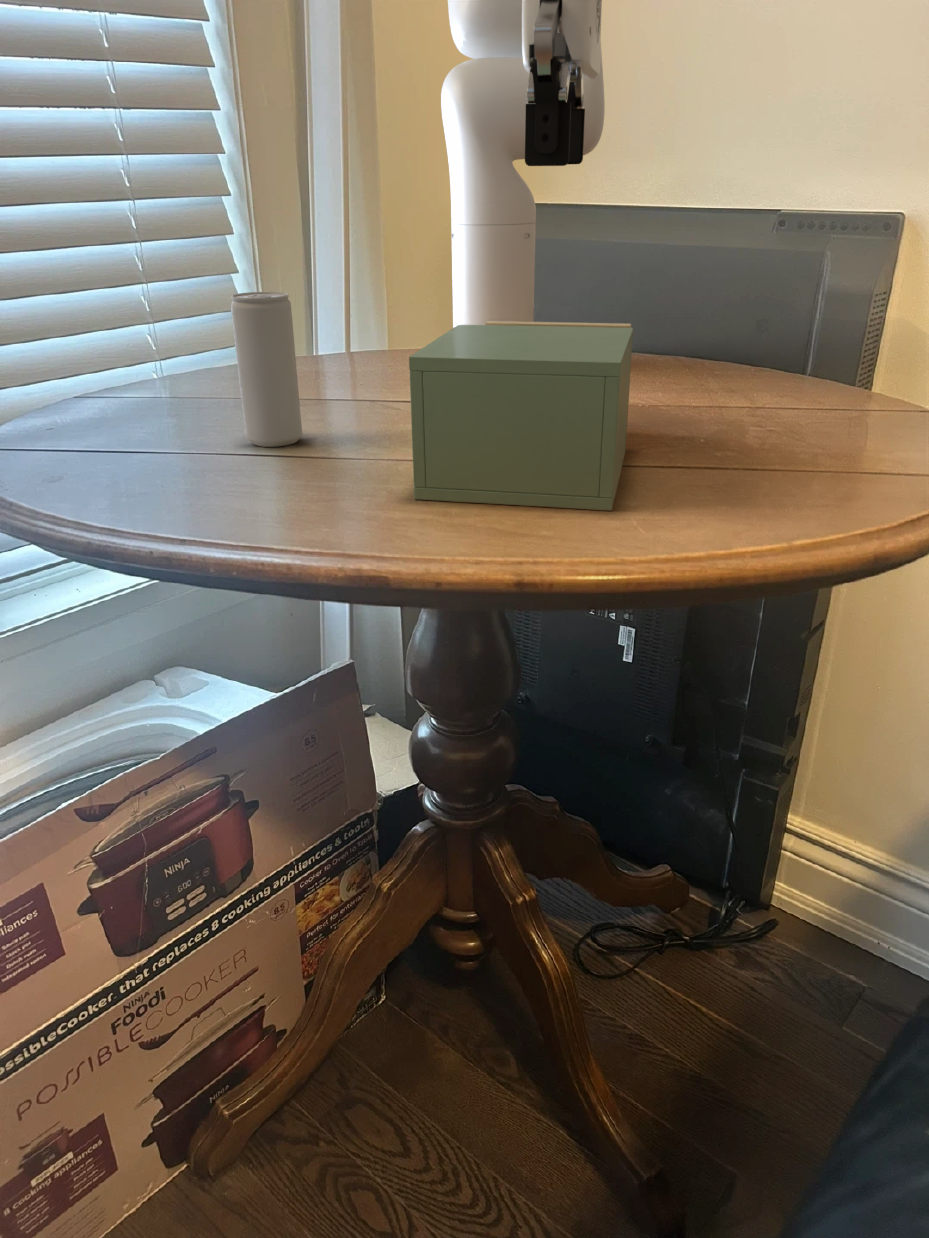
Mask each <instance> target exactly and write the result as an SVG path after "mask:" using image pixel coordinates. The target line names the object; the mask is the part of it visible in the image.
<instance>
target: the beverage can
mask: <svg viewBox="0 0 929 1238" xmlns="http://www.w3.org/2000/svg"><path fill="white" fill-rule="evenodd" d="M231 300H232V301H231V303H230V311H231V320H232V329H233V336H234V346H235V356H236V363H237V364H236V365H237V374H238V381H239V389H240V398H241V399H240V400H241V406H242V414H243V424H244V431H245V432H244V433H245V438H246V439H247V440H248V441H249V442H250V443H251V444H252V445H255V446H257V447H264V448H276V447H284V446H290V445H293V444H295V443H297V442H298V441H299V440H300V438H301V437H302V435H303V428H302V416H301V403H300V392H299V382H298V381H299V380H298V368H297V358H296V357H297V356H296V348H295V335H294V323H293V313H292V311H293V310H292V303H291V301H290V300H289V293H288V292H284V291H283V292H282V291H250V292H241V293H235V294H232V295H231Z"/></svg>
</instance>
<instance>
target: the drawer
mask: <svg viewBox="0 0 929 1238" xmlns="http://www.w3.org/2000/svg"><path fill="white" fill-rule="evenodd" d="M485 325H504V326H555V327H606V328H632V323H619V322H618V323H617V322H616V323H615V322H614V323H613V322H611V323H610V322H569V321H568V322H566V321H565V322H562V321H561V322H560V321H559V322H557V321H534V322H514V321H488V322H486V323H485Z"/></svg>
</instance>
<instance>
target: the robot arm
mask: <svg viewBox="0 0 929 1238" xmlns="http://www.w3.org/2000/svg"><path fill="white" fill-rule="evenodd" d="M602 3H603V0H447V12H448V21H449V28H450V33H451V36H452V37H451V38H452V40H453V43H454V45H455V47H456V49H457V50H458V52H459V53H460V54H462V55H463V56H465V57H467V58H470V59H467V60H465V61H463V62H460V63H458V64H456V65H455V66H454V67H453V68H451V69H450V71H449V72H447V75H446V76H445V78H444V80H443V83H442V86H441V91H440V110H441V118H442V125H443V132H444V140H445V146H446V152H447V153H446V154H447V161H448V172H449V186H450V189H449V190H450V215H451V216H450V221H451V222H450V223H451V227H450V228H451V280H452V281H451V282H452V284H451V286H452V329H453V328H454V327H456V326H457V325H485V323H486V322H488V321H514V322H535V318H534V317H535V280H536V279H535V275H536V274H535V273H536V229H537V226H536V224H537V222H536V221H537V209H536V208H537V207H536V201H535V197H534V195H533V193H532V191H531V189H530V187H529V185H528V184H527V183H526V181H525V180H524V179H523V178H522V176H521V175H520V174H519V172H518V170H517V169H516V168H515V166H514V164H513V162H514V161H519V160H524V163H525V165H526V166H528V167H564V166H566V165H580V164H581V163H583V160H584V156H585V155H589V154H590V153H591V152H592V151H594V149H595V148H596V147H597V146H598V144H599V143H600V140H601V138H602V135H603V130H604V125H605V124H604V123H605V113H606V111H605V107H606V106H605V103H606V102H605V85H604V70H603V69H604V68H603V57H602V54H603V53H602V40H601V39H602V38H601V37H602V35H601V34H602V10H603V9H602V6H603V5H602Z"/></svg>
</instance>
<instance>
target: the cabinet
mask: <svg viewBox="0 0 929 1238" xmlns="http://www.w3.org/2000/svg"><path fill="white" fill-rule="evenodd" d="M633 340H634V327H631V328H606V327H555V326H504V325H457V326H456V327H454V328H453V327H452V328H451V329H449V330H448V331H446V332H445V333H443V334H442V335H440V336H439V337H437V338H436V339H434V340H433V341H431V342H429V343H427V344H426V345H425V346H423V347H422V348H420V349H419V350H417V351H416V352H415V353H413V354H411V355H410V356H409V357H408V368H409V369H408V371H409V393H410V394H409V395H410V419H411V420H410V421H411V423H410V424H411V449H412V451H411V452H412V475H413V476H412V477H413V499H414V500H419V501H421V500H422V501H435V502H454V503H455V502H456V503H470V504H471V503H472V504H489V505H507V506H521V507H522V506H523V507H539V508H557V509H573V510H574V509H575V510H589V511H591V510H592V511H607V512H608V511H609V512H611V511H612V510H613V507H614V502H615V499H616V494H617V489H618V486H619V482H620V477H621V473H622V469H623V464H624V459H625V456H626V448H627V447H626V446H627V434H628V433H627V432H628V418H629V402H630V386H631V372H632V371H631V370H632V357H633V356H632V354H633Z"/></svg>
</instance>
